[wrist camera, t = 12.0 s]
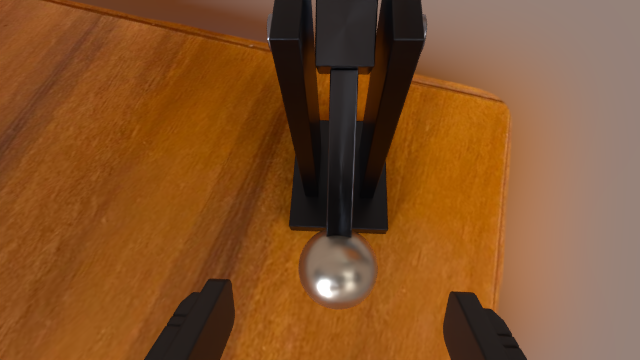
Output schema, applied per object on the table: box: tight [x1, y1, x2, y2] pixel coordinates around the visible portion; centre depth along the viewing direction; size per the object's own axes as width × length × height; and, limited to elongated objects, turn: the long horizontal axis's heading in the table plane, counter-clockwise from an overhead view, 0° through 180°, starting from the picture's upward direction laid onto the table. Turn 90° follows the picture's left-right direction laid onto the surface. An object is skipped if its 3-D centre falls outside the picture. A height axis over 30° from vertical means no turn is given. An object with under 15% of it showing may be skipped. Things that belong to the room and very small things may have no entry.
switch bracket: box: [267, 0, 427, 234], centre depth 18 cm, size 9×7×16 cm
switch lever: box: [299, 0, 378, 309], centre depth 14 cm, size 13×4×4 cm
